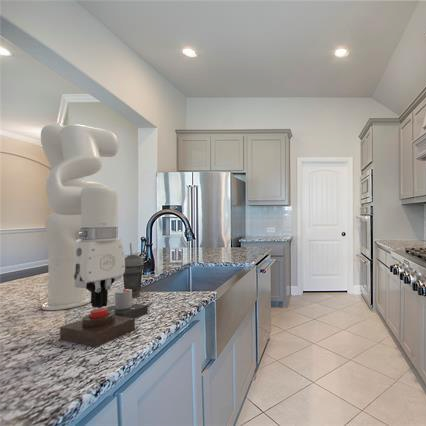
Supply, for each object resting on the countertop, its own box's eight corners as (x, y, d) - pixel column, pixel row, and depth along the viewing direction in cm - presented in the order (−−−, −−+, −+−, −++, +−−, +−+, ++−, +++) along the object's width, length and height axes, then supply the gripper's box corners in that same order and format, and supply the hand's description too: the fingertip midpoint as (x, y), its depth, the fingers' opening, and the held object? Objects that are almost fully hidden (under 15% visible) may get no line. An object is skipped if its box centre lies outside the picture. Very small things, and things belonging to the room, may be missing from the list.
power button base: (59, 340, 69) (60, 319, 69) (102, 324, 79) (102, 306, 79) (95, 347, 66) (95, 325, 66) (134, 330, 75) (134, 311, 75)
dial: (111, 308, 84) (111, 291, 84) (125, 304, 88) (125, 287, 88) (122, 310, 83) (122, 292, 83) (135, 305, 87) (135, 288, 87)
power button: (86, 318, 71) (86, 311, 71) (101, 313, 74) (101, 307, 74) (96, 320, 70) (96, 313, 70) (111, 315, 73) (111, 308, 73)
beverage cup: (132, 299, 101) (133, 244, 101) (115, 298, 103) (116, 243, 103) (148, 294, 108) (149, 242, 109) (132, 293, 110) (133, 241, 110)
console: (97, 318, 83) (97, 309, 83) (124, 309, 91) (124, 301, 91) (122, 322, 80) (122, 313, 80) (148, 312, 88) (148, 304, 88)
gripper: (77, 237, 64) (76, 318, 64) (137, 233, 78) (137, 299, 78) (55, 236, 66) (54, 314, 66) (117, 232, 80) (117, 297, 80)
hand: (99, 306), depth 72 cm, fingers closed
